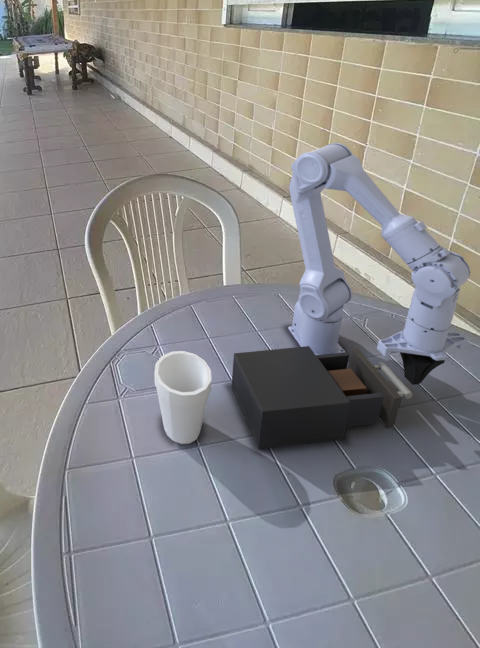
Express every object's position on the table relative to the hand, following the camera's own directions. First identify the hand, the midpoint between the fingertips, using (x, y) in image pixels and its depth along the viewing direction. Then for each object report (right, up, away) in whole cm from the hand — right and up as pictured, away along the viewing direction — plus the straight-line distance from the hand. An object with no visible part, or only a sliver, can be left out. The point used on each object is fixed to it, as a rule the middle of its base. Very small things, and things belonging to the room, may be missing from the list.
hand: (411, 380), depth 76 cm
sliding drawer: (-11, -4, +1) cm, 12 cm away
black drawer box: (-23, -6, +1) cm, 24 cm away
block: (-12, -3, 0) cm, 13 cm away
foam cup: (-42, -8, -1) cm, 43 cm away
